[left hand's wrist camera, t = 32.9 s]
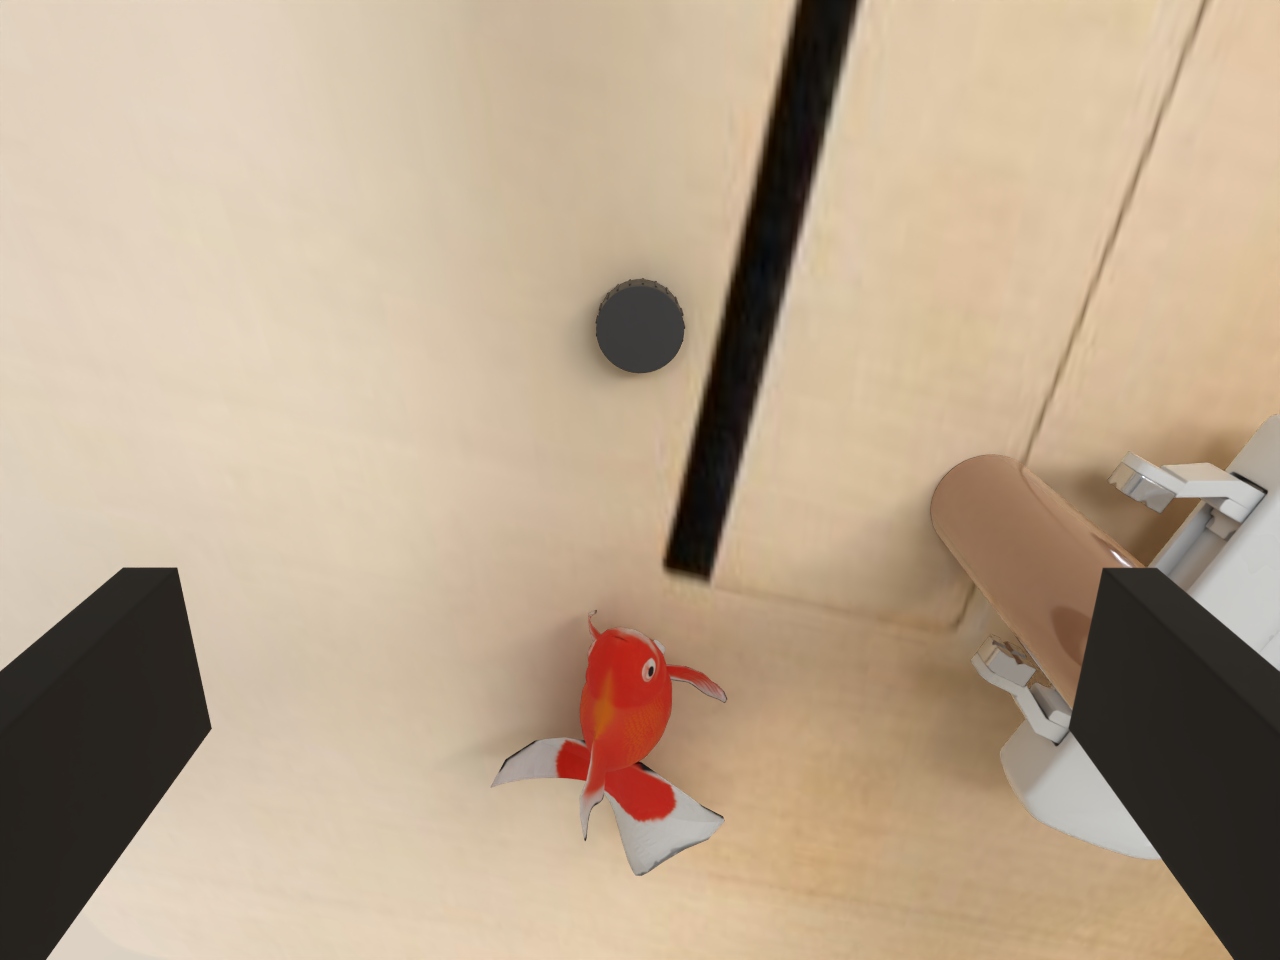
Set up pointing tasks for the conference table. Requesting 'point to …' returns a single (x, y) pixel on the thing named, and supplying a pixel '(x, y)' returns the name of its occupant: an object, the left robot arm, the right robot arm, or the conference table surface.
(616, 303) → the cap
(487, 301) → the conference table surface
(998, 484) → the bottle
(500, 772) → the fish
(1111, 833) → the right robot arm
